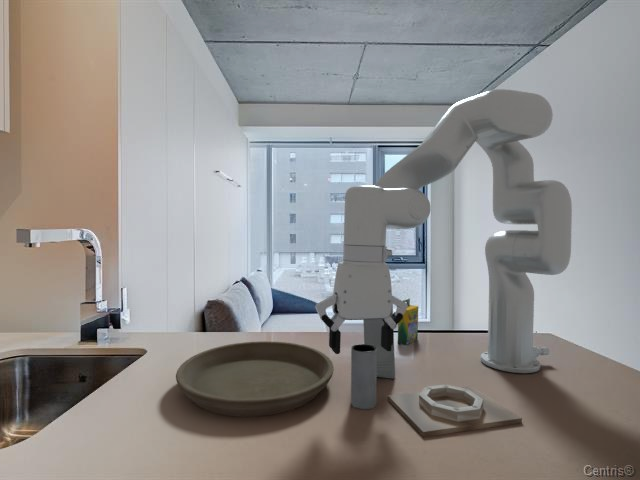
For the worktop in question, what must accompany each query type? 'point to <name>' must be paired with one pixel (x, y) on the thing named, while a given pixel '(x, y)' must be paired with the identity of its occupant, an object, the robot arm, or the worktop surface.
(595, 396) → the worktop surface
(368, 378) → the grey tube
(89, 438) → the worktop surface
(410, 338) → the crayon box
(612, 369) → the worktop surface
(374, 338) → the skincare box
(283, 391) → the plant saucer
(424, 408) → the tan board with ring
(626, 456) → the worktop surface
